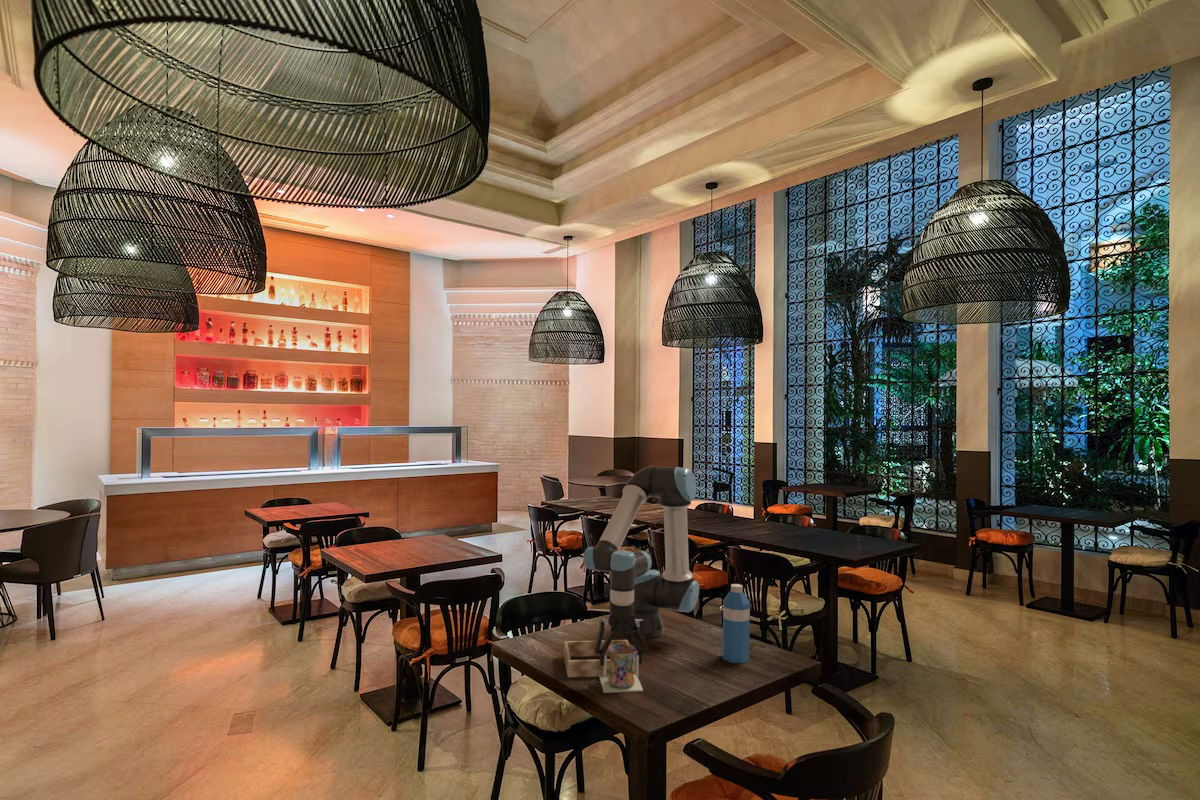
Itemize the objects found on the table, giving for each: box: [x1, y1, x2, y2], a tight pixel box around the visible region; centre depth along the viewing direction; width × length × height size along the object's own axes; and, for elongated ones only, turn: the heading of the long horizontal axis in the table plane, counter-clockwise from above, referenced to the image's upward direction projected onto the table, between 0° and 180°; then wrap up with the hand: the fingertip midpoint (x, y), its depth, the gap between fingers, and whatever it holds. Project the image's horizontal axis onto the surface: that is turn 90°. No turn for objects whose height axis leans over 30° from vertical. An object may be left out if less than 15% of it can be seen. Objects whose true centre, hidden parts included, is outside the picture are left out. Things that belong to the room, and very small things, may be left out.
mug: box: [607, 644, 638, 687], centre depth 200 cm, size 12×9×11 cm
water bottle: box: [722, 583, 751, 664], centre depth 223 cm, size 9×9×25 cm
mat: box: [599, 674, 644, 694], centre depth 200 cm, size 12×12×1 cm
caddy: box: [563, 639, 635, 678], centre depth 215 cm, size 22×18×5 cm
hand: (620, 675), depth 200 cm, fingers open, 9 cm apart
